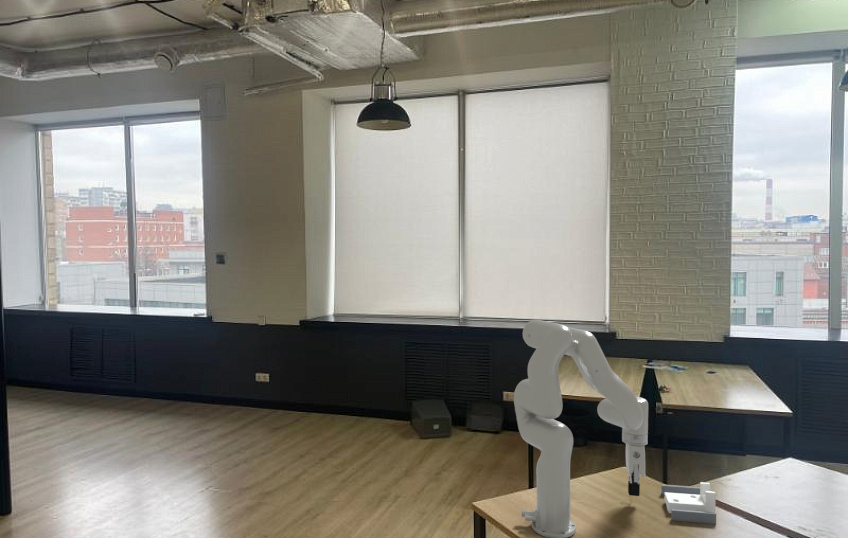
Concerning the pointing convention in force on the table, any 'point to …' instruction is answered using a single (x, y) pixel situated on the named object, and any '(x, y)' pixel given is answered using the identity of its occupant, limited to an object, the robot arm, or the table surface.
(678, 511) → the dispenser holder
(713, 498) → the bracket
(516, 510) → the table surface
